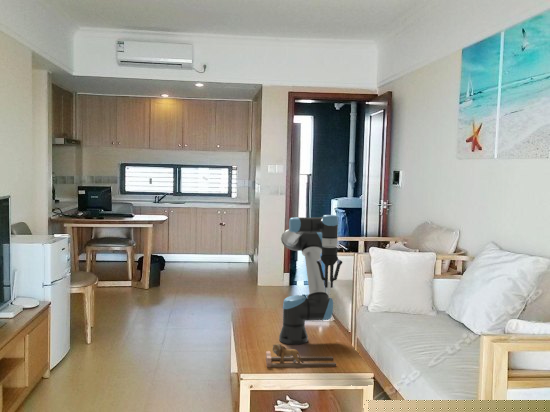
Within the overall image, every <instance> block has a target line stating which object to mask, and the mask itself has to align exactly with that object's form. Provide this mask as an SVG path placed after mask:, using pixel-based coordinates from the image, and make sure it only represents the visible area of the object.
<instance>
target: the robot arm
mask: <svg viewBox="0 0 550 412" xmlns="http://www.w3.org/2000/svg"><path fill="white" fill-rule="evenodd" d="M338 224H339V219H338V215H335V214H323V216H321V217H297V216H296V217H290V218H289V221H288V229H286V230H285V231H284V232H282V234H281V237H280V240H281V243H282V244H283V246H284V247H285V248H287V249H288V250H291V251H295V252H297V251H301V254H302V256H304V260H305V266H306V268H305V269H306V275H307V283H308V294H307V297H305V295H300V294H296V295H289V296H287V297H286V298H284V299H283V304H282V328H281V330H280V333H279V337H278V338H279V339H278V340H279V341H280V342H281V343H283V344H287V345H303V344H306V343H308V340H309V338H308V333H307V330H306V325H305V324H306V323H305V322H307V321H309V322H310V321H314V322H315V321H320V322H321V321H329V320H331V319H332V316H333V312H334V300H333V298H331V297H329V295H331V291H332V290H331V288H332V289H333V287H334V281H337V279H338V276H339V272H340V268H341V265H342V264H343V261H342V260H340V259H339V257H338V233H339V232H338V230H339V229H338V228H339V225H338ZM322 263H323V264H324V271H323V267H322V266H323V265H322ZM335 264H336V267H335V271H334V266H335ZM325 288H326V289H325Z"/></svg>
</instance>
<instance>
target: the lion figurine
mask: <svg viewBox="0 0 550 412" xmlns="http://www.w3.org/2000/svg"><path fill="white" fill-rule="evenodd" d="M272 352H273V354H275V355H276V357H281V360H279V363H284V360H283V359H284V357H294V359H295V360H292V363H305V362H304V360H301V358H300V357H301V354H300V351H298V350H297V349H295V348H293V349H287V348H286V346H284V345H282V344H280V343H274V344H273V345H272ZM298 357H299V359H300V360H299V359H298Z"/></svg>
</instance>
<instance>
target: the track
mask: <svg viewBox="0 0 550 412" xmlns="http://www.w3.org/2000/svg"><path fill="white" fill-rule="evenodd" d="M271 353H272V352H271V350H266V351H265V362H266V368H305V367H306V368H307V367H308V368H313V367H315V368H317V367H318V368H320V367H321V368H322V367H324V368H325V367H327V368H328V367H329V368H330V367H335V368H336V367H337V363H336V362H304V363H302V362H300V363H298V362H288V363H287V362H286V363H285V362H283V363H280V362H279V363H278V362H276V361H280V360H281V357H279V356H272V354H271ZM297 357H298V359H299V356H297ZM300 358H301V361H333V360H334V356H300ZM294 360H295V359H294V357H293V356H291V357H284V359H283V361H294ZM299 360H300V359H299ZM272 361H275V362H273V363H272Z"/></svg>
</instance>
